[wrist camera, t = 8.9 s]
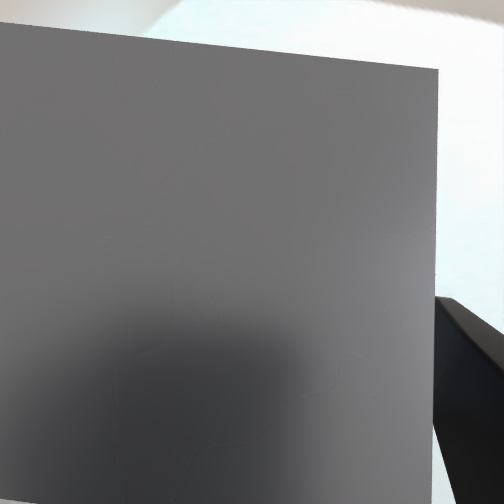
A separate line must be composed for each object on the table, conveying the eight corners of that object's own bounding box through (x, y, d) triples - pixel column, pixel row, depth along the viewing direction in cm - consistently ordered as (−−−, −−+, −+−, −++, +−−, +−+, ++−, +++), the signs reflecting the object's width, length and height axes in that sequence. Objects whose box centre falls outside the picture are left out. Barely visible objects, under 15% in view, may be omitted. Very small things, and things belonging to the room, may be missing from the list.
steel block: (280, 382, 16) (430, 555, 3) (160, 367, 17) (-253, 464, 3) (290, 286, 17) (438, 69, 4) (176, 273, 17) (-82, 12, 4)
